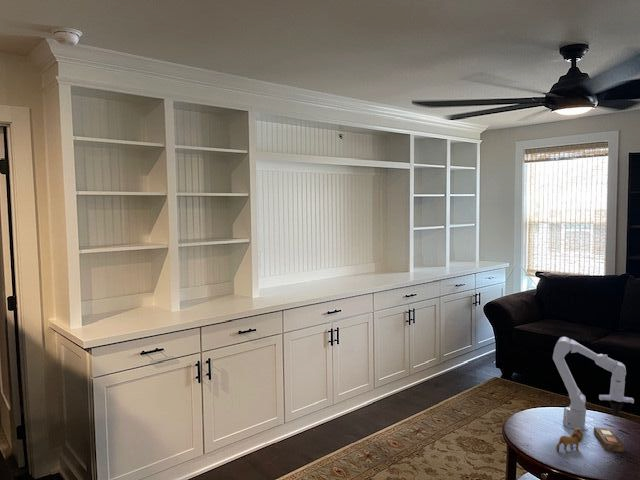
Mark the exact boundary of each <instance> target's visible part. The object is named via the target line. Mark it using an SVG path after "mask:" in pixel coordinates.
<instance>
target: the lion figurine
mask: <svg viewBox="0 0 640 480" xmlns="http://www.w3.org/2000/svg"><path fill="white" fill-rule="evenodd" d="M583 435H584V432H583V430H582V429H579V428H576V429H573V432H572V434H571V435H569V436H566V435H563V436H560V437H559V440H558V443H557V445H556V448H555V449H556V452H557V453H559V452H560V446H561V445H563V450H564V451H565V453H566V454H569V453H570V452H569V450H567V448H568V445H570V448H571V449H574V445H575V450H576V451H578V452H579V451H580V449H579V445H580V443H581V442H582V440H583Z"/></svg>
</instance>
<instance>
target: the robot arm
mask: <svg viewBox="0 0 640 480" xmlns="http://www.w3.org/2000/svg"><path fill="white" fill-rule="evenodd" d="M569 352H570V353H571V354H574V353H579V354H580V355H583V356H585V357H586V358H589V359H591V360H592V361H594V363H595V364H596V365H597V366H599V367H600V368H603V370H606V371H608V372H611V378H610V387H609V394H599V395H598V399H599V400H600V401H608V402H609V404H610V407H611V412H612V416H613V417H615V418H617V417H618V415H619V413H620V411H621V410H622V408H623V407H624V406H625V405H624V403H631V404H634V403H635V399H634V398H633V397H629V396H625V385H626V380H625V379H626V376H627V369H626V365H625V364H624V363H623V362H621V361H618V360H615V359H612V358H611V357H608V354H603V353H596V352H594V351H593V350H591V349H589V348H588V347H586V346H584V345H582V344H580V342H577V341H576V340H574V339H572V338H569V337H567V336H561V337H559V339H558V340H557V341H556V343H555V346H554V348H553V354H552V360H553V362H554V364H555V366H556V369H557V371H558V373H559V375H560V377H561V379H562V381H563V384H564V386H565V388H566V391H567V392H568V398H569V400H570V404H569V406H565V407H564V408H563V417H562V422H563V424H564V425H565V427H566V428H567V429H573V430H574V429H576V428H579V429H581V431H583V430H584V431H588V428H587V426H586V416H587V415H586V414H587V408H586V402H587V398H586V397H587V396H586V395H585V394H583V392H582V391H581V390H580V388H579V387H578V384H577V383H576V381H575V378H574V377H573V375H572V372H571V371H570V368H569V366H568V364H567V362H566V360H565V357H566V355H567V354H569Z"/></svg>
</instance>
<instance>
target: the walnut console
mask: <svg viewBox="0 0 640 480" xmlns="http://www.w3.org/2000/svg"><path fill="white" fill-rule="evenodd" d="M600 430H606V431H610V432H611V433H612V435H605V434H602V433H601V431H600ZM593 434H594V436H595V437H596V439H597V440H598V441H599V443H600V444H601V446H602V447H603V449H604V451H614V452H621V453H623V452H624V448H625V445H624V444H623V442H622V441H621V440H620V439H619V437H618V436H617V435H616V433H615V432H614V431H613V429H612V428H605V427H597V426H594V427H593ZM605 437H611V438H615V439H616V440H617V441H618V443H616V442H608V441H607V440H606V438H605Z"/></svg>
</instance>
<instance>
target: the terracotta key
mask: <svg viewBox="0 0 640 480" xmlns="http://www.w3.org/2000/svg"><path fill="white" fill-rule="evenodd" d="M605 438H606V440H607V441H608V442H616V443H618V441H617V440H616V439H615V438H611V437H605Z"/></svg>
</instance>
